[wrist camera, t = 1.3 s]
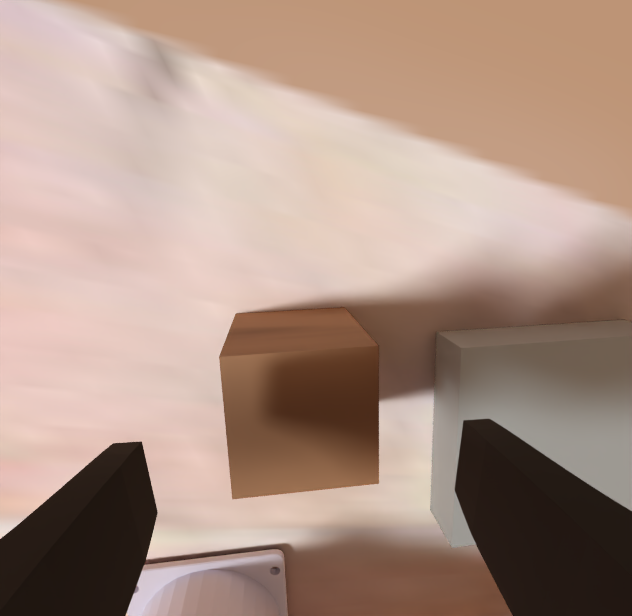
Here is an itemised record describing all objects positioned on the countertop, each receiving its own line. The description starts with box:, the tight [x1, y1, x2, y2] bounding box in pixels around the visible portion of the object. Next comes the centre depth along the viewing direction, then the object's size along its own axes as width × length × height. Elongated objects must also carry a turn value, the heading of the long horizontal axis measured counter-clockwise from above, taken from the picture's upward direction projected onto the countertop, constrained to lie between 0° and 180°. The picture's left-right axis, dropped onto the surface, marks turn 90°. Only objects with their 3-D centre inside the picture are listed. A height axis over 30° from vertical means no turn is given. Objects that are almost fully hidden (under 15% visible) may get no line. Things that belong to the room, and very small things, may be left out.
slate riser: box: [430, 320, 632, 548], centre depth 20 cm, size 10×10×3 cm
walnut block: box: [219, 307, 379, 499], centre depth 16 cm, size 5×5×6 cm
